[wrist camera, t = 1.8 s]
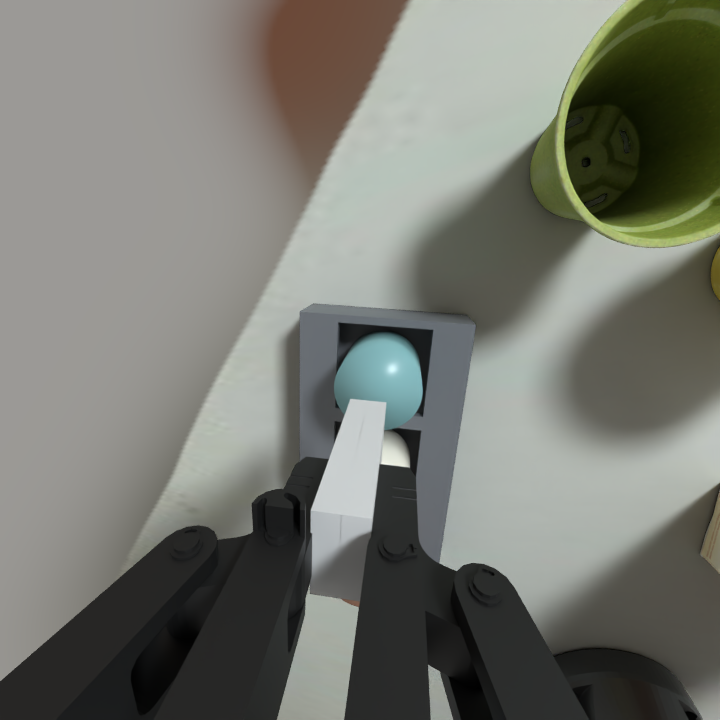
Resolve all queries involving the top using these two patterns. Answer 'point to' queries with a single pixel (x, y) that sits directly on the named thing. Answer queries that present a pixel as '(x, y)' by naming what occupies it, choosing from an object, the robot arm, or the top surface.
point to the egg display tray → (437, 408)
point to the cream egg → (395, 450)
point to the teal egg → (382, 376)
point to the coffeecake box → (713, 539)
